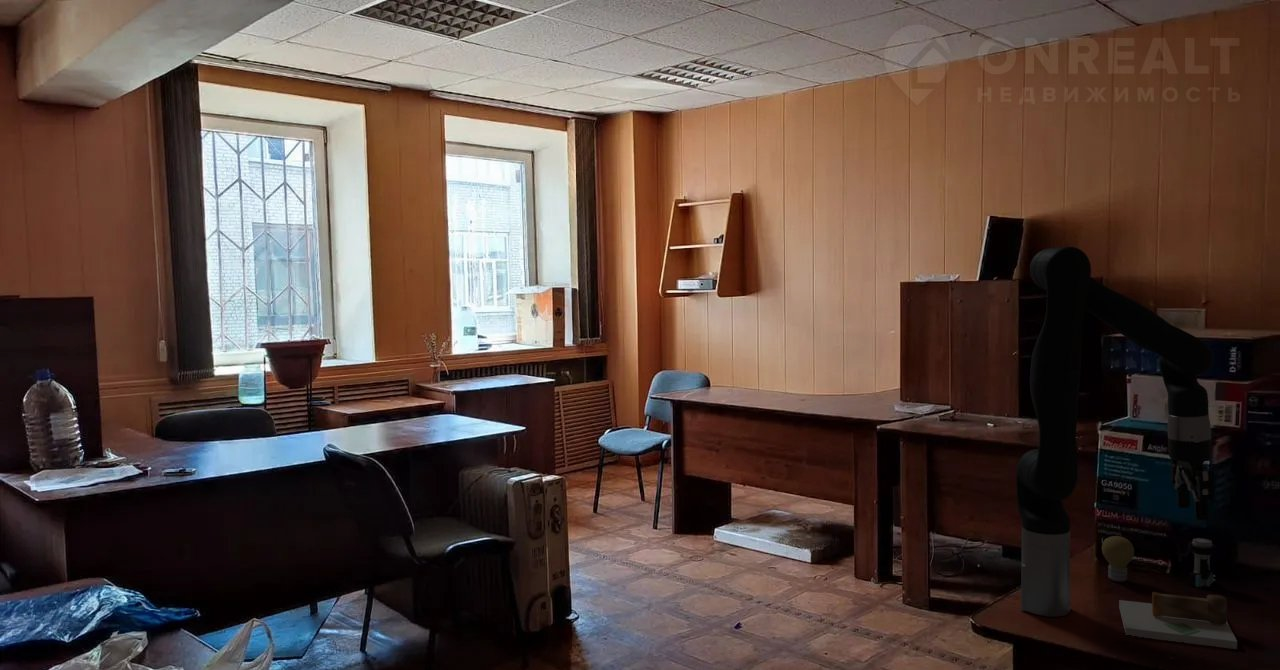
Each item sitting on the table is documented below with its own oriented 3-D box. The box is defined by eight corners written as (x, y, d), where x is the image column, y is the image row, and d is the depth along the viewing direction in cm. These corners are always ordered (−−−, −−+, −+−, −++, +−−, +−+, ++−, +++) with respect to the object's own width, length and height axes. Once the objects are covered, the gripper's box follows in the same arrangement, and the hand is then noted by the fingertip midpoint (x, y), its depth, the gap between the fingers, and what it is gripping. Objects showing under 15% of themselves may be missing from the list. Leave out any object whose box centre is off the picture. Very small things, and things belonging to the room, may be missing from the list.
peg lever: (1224, 619, 170) (1224, 595, 170) (1227, 625, 167) (1228, 601, 167) (1151, 611, 175) (1151, 588, 175) (1153, 617, 172) (1153, 593, 172)
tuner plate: (1125, 635, 169) (1125, 627, 168) (1119, 607, 182) (1119, 599, 182) (1237, 649, 161) (1237, 640, 161) (1221, 618, 175) (1221, 610, 175)
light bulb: (1095, 576, 200) (1095, 533, 199) (1121, 574, 201) (1121, 531, 200) (1113, 586, 194) (1113, 542, 193) (1140, 584, 194) (1140, 540, 194)
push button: (1203, 578, 197) (1203, 534, 196) (1226, 586, 192) (1227, 541, 191) (1181, 582, 194) (1182, 538, 194) (1204, 590, 189) (1205, 545, 189)
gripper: (1155, 430, 187) (1159, 504, 188) (1183, 444, 173) (1187, 524, 174) (1194, 428, 185) (1197, 503, 186) (1225, 442, 171) (1229, 523, 172)
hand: (1192, 513), depth 180 cm, fingers open, 8 cm apart
